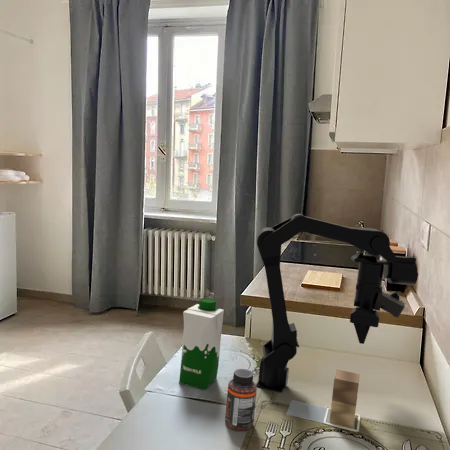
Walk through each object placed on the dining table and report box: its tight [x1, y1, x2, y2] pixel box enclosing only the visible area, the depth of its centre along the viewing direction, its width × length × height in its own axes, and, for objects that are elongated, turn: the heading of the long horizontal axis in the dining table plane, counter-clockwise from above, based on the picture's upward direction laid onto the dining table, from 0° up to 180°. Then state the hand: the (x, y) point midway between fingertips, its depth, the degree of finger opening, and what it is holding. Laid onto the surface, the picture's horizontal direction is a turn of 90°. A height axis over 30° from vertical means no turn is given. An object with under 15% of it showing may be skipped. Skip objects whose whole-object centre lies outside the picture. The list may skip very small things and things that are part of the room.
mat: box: [285, 399, 357, 430], centre depth 101 cm, size 14×7×1 cm, turn 71°
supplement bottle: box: [224, 368, 258, 432], centre depth 94 cm, size 6×6×11 cm
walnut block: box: [331, 369, 361, 407], centre depth 99 cm, size 5×5×5 cm
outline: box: [322, 407, 361, 433], centre depth 100 cm, size 7×7×1 cm
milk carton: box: [178, 297, 225, 391], centre depth 112 cm, size 9×9×20 cm
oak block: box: [329, 400, 358, 428], centre depth 100 cm, size 5×5×5 cm
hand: (361, 343), depth 112 cm, fingers closed
